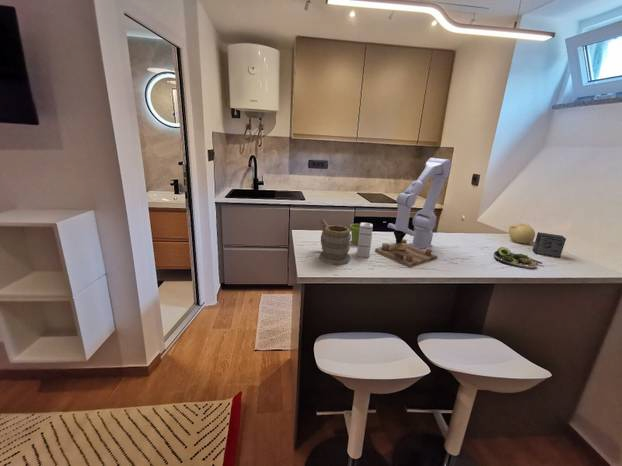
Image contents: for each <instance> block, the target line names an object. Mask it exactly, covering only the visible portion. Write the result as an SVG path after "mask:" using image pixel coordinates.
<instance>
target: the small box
mask: <svg viewBox="0 0 622 466" xmlns="http://www.w3.org/2000/svg"><path fill="white" fill-rule="evenodd" d="M534 240H535V241H534V245H533V247H532V250H531V251H533V253H534V254H535V255H539V256H543V257H545V256H546V257H552V258H558V259H560V258H561V256H562V253H563V251H564V247H565V243H566V241H567V238H566V237H565V236H563V235H559V234H553V233H545V232H537V234H536V236H535V239H534Z"/></svg>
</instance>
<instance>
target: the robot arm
mask: <svg viewBox="0 0 622 466" xmlns="http://www.w3.org/2000/svg"><path fill="white" fill-rule="evenodd" d="M424 165H425V168H424V169H423V171H422V172H421V173H420V175H419V177H418V178H417V180H413V181H412V182H411V183H410V184H409V185H408V187H407V188H406V189H405V190H404V191H403V192H400V193H399V194H398V195H397V198H396V207H397V213H396V219H395V224H394V223H391V222H390V223H388V224H387V228H389V229H393V230H395V231H393V235H394V238H395V243H401V241H402V239H405V236H406V235H408V236H411V237H413V238H412V242H409V243H408V244H409V245H411V246H414V247H416V248H419V249H421V250H424V249H428V248H430V247H432V246H433V245H432V242H433V235H434V233H433V230H434V228H435V227H436V223H437V218H438V217H437V216H436V214H435V213H434V211H435V209H436V207H437V203H438V200H439V197H440V194H441V192H442V190H443V189H442V188H443V186H444V184H445V181H446V179H447V178H448V177H449V174H450V173H451V169H452V163H451V160H450V159H449V158H447V159H445V158H438V157H437V158H435V157H429V159H427V161H426V162H425V164H424ZM431 177H432V179H433V180H432V183H431V184H430V187H429V191H428V193H427V196H426V199H425V201H424V204H423V206H422V209H419V210H418V211H416V214H415V215H414V217H412V225H413V228H414V230H413V229H411V228H409V223H410V215H411V211H412V207H413V206H414V205H415V204H416V201H417V198H418V195H419V194H420V193H421V192H422V191H423V189H424V185H425V184H426V182H427V181H428V180H429V179H430V178H431Z"/></svg>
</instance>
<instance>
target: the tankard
mask: <svg viewBox="0 0 622 466" xmlns="http://www.w3.org/2000/svg"><path fill="white" fill-rule="evenodd" d="M319 224H320V225H322V232H321V235H320V245H321V252H320V254H319V260H321V261H322V262H324V263H325V264H330V265H335V266H340V265H345V264H349V261H350V260H351V255H350V254H348V253H349V251H350V250H351V249H350V247H351V245H350V241H351V240H352V236H351V228H349V227H347V226H345V225H338V224H332V225H331V224H330V225H329V224H328V223H327V221H326V220H325V218H321V219H320V220H319Z"/></svg>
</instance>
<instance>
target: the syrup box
mask: <svg viewBox="0 0 622 466" xmlns="http://www.w3.org/2000/svg"><path fill="white" fill-rule="evenodd" d="M359 224H360V229H359V239H358V244H357V252H356V256H357V257H358V256H359V257H363V258H364V257H365V258H369V257H370V256H371V255H370V254H371V246H372V239H373V238H372V237H373V226H374V225H373V223H370V222H360V223H359Z"/></svg>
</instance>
